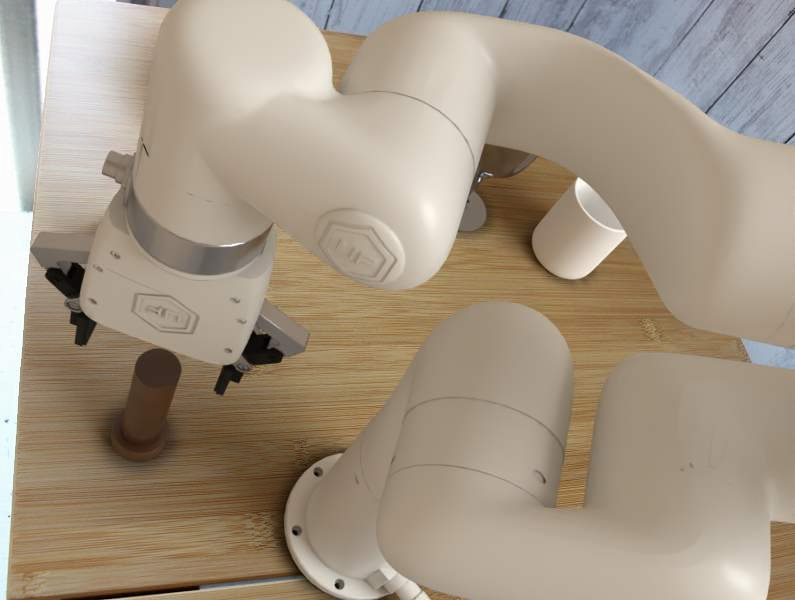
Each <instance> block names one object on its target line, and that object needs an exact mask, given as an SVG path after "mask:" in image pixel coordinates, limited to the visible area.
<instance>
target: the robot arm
mask: <svg viewBox="0 0 795 600" xmlns="http://www.w3.org/2000/svg"><path fill="white" fill-rule="evenodd" d="M159 27H160V28H159V31H158V35H157V38H156V42H155V46H154V47H155V48H154V53H153V57H152V62H151V68H150V73H149V79H148V84H147V91H146V96H145V102H144V107H143V112H142V117H141V123H140V130H139V137H138V140H137V146H136V151H134V153H133V155H131V154H129V153H125V154H122V153H120V152H117V151H115V150H110V151H109V152H108V154H107V156H106V157H105V160H104V163H103V166H102V169H101V174H102V175H103V176H104V177H105V176H106V177H108V178H110V179H113V180H114V182H115V183H116V184H119V185H120V188H119V189H118V191H117V192H116V193H115V195H114V196H113V197H112V199H111V200H110V201H109V203H108V205H107V207H106V209H105V211H104V213H103V215H102V217H101V219H100V221H99V224H98V227H97V229H96V233H95V235H89V234H79V233H65V232H53V231H52V232H51V231H40V232H39V233H38V235H37V236H36V238H35V240H34V242H33V243H32V245H31V246H30V249H29V250H30V253H31V254H32V255H33V257H34V258H35V260H36V261H37V263H38V264H39V266H40V267H41V268H44V270H45V271H46V272H45V273H44V278H45V279H46V280H47V282H49V284H51V285H52V286H53V287H54V288H55V289H56V290H57V291H59V292H60V293H61V294H62V295H63V296H64V297H65V298H66V299H65V301H64V303H63V304H64V307H65V308H66V309H68V310H69V311H70V315H69V325H72V326H75V328H76V329H75V334H74V343H73V344H74V345H76V346H79V347H80V348H81V347H83V346H84V347H86V346H87V345H88V343H89V341H90V339H91V337H92V334H93V333H94V331H95V328H96V326H97V324H99V325H101V326H103V327H106V328H108V329H111V330H114V331H116V332H118V333H122V334H124V335H127V336H130V337H133V338H135V339H137V340H141V341H143V342H146V343H149V344H152V345H154V346H157V347H160V348H162V349H165V350H168V351H170V352H174V353H177V354H180V355H183V356H186V357H188V358H192V359H194V360H197V361H201V362H203V363H208V364H211V365H215V366H217V365H218V366H221V369H220V371H219V375H218V377H217V379H216V382H215V385H214V388H213V392H215V394H216V395H218V396H221V397H223V396H224V394H225V393H226V390H227V388H228V386H229V384H230V382H233V383H235V384H238V385H239V384H240V382H241V381H242V378H243V377H244V374H248V373H251V372H252V371H253V368H254V366H265V365H276V364H281V363H282V361H283V359H284V358H288V359H289V358H291V357H294V356H296V355H299V354H302V353H304V352H306V350H307V346H308V342H309V339H310V335H311V333H310V331H309V330H307V329H306V328H305V327H303V326H302V325H301V324H299V323H298V322H297V321H295V319H293V318H292V317H290V316H289V315H288V314H286V313H285V312H283V311H282V310H281V309H279V308H278V307H277V306H275V305H274V304H273V303H271V301H269V300H268V299H266V296H267V294H268V290H269V286H270V282H271V279H272V276H273V275H272V273H273V269H274V266H275V261H276V260H275V259H276V251H277V250H276V249H277V230H276V227H275V225H276V226H277V227H278V228H279V229H280V230H282V231H283V232H284V233H285V234H286V235H288V236H289V237H290V238H291V239H293V240H294V241H295V242H296V243H298V244H299V245H300V246H301V247H303V248H304V249H305V250H306V251H307V252H309V253H310V254H311V255H313V256H314V257H316V259H318V260H319V261H320V262H322V263H323V264H325V265H326V266H328V267H329V268H331V269H332V270H334V272H335V271H336V272H337V273H338V274H340V275H341V276H344V277H346V278H348V279H350V280H352V281H354V282H356V283H358V284H359V285H360V284H361V285H362V286H365V287H369V288H371V289H376V290H382V291H390V292H391V291H393V292H394V291H395V292H399V291H406V290H411V289H414V288H416V287H419V286H421V285H423V284H425V283H426V282H427V281H429V280H430V279H432V278H433V277H434V276H435V275H436V274H437V273H438V272H439V271H440V269H441V268H442V266H443V265H444V263H445V262H446V261H447V259H448V256H449V255H450V252H451V250H452V248H453V246H454V244H455V241H456V238H457V235H458V228H459V225H460V222H461V218H462V215H463V212H464V208H465V205H466V202H467V198H468V195H469V192H470V188H471V185H472V182H473V179H474V176H475V173H476V170H477V167H478V163H479V160H480V157H481V154H482V151H483V147H484V144H490V145H496V146H501V147H505V148H510V149H515V150H520V151H523V152H527V153H530V154H534V155H537V156H538V157H539V158H542V159H545V160H547V161H549V162H552V163H554V164H556V165H558V166H559V167H561V168H564V169H565V170H567V171H569V172H571V173H572V174H574V175H575V176H576V177H579V178H580V179H582V180H583V181H584V182H586V183H587V184H588V185H589V186H590V187H591V188H592V189H593V190H594V191H595V192H596V193H597V194H599V195H600V197H601V198H602V199H603V200H604V201H605V203H606V204H607V205H608V206H609V207H610V209H611V210H612V211H613V213H614V214H615V216H616V217H617V219H618V220H619V222H620V223H621V225H622V227H623V229H624V231H625V233H626V234H627V238H628V240H629V241H630V244H631V245H632V247H633V249H634V250H635V252H636V254H637V256H638V258H639V260H640V263H641V264H642V266H643V268H644V269H645V271H646V274H647V275H648V277H649V279H650V281H651V283H652V285H653V287H654V288H655V291H656V293H657V294H658V296H659V298H660V300H661V302H662V303H663V305H664V306H665V308H666V309H667V310H668V311H669V313H670V314H671V315H672V316H673V318H675V319H677V320H678V321H680V322H681V323H682V324H684V325H685V326H687V327H690V328H693V329H696V330H699V331H705V332H709V333H714V334H718V335H719V334H720V335H724V336H729V337H733V338H738V339H742V340H747V341H752V342H756V343H760V344H761V343H762V344H766V345H770V346H774V347H778V348H779V347H780V348H784V349H788V350H792V351H795V145H793V144H788V143H782V142H777V141H772V140H766V139H761V138H758V137H753V136H749V135H744V134H741V133H738V132H736V131H734V130H731V129H730V128H728V127H726V126H724V125H722V124H720V123H719V122H717V121H716V120H714V119H713V118H711V116H709V115H708V114H706V113H705V112H704V111H703V110H701V109H700V108H699V107H698V106H697V105H695V104H694V103H693V102H691V101H690V100H688V99H687V98H686V97H685V96H683V95H681V94H680V93H679V92H677V91H676V90H674V89H673V88H671V87H669V86H668V85H666V84H665V83H664V82H662V81H661V80H659V79H657V78H655V77H654V76H652V75H651V74H649V73H648V72H646V71H644V70H643V69H641V68H640V67H638V66H636V65H635V64H633V63H632V62H630V61H628V60H627V59H625V58H624V57H622V56H621V55H619V54H618V53H615V52H613V51H612V50H610V49H608V48H606V47H604V46H602V45H601V44H598V43H596V42H594V41H592V40H590V39H586V38H584V37H582V36H579V35H576V34H573V33H571V32H568V31H565V30H561V29H557V28H554V27H549V26H545V25H540V24H535V23H529V22H523V21H517V20H513V19H508V18H507V19H506V18H503V17H496V16H490V15H484V14H477V13H472V12H471V13H470V12H462V11H455V10H426V11H425V10H423V11H416V12H411V13H407V14H401V15H399V16H395V17H394V18H392V19H390V20H387V21H385V22H384V23H381V24H380V25H379V26H378V27H377V28H375V29H374V30H373V31H372V32H370V34H369V35H367V37H366V38H365V39H364V40H363V41H362V42H361V44H360V45H359V47H358V49H357V50H356V52H355V54H354V56H353V57H352V59H351V60H350V63H349V65H348V67H347V68H346V71H345V72H344V74H343V76H342V78H341V81H340V82H339V84H338V87H337V89H335V86H334V85H333V75H334V74H333V59H332V55H331V51H330V48H329V45H328V43H327V41H326V38H325V37H324V35H323V33H322V32H321V30H320V29H319V27H318V26H317V25H316V24H315V21H313V19H311V18H310V17H309V16H308V15H307V14H306V13H305V12H304V11H303V10H302V9H300V8H299V7H298V6H296V5H295V4H293V3H292V2H290V1H289V0H177V1H176V2H175V3H174V4H173V5H172V6H171V8H170V9H168V12H167V13H166V15H165V16H164V18H163V20H162V22H161V24H160V26H159ZM81 264H86V266H84V267H83V266H82V265H81ZM263 332H264V333H263ZM574 371H575V370H574V362H573V358H572V355H571V350H570V347H569V346H568V343H567V341H566V339H565V337H564V335H563V334H562V333H561V331H560V330H559V328H558V327H557V326H556V325H555V324H554V323H553V322H552V321H551V319H549V318H548V317H546V316H545V315H544V314H542V313H541V312H539V311H537V310H535V309H534V308H532V307H529V306H527V305H524V304H522V303H518V302H513V301H508V300H507V301H506V300H486V301H480V302H477V303H472V304H468V305H467V306H464V307H461V308H459V309H457V310H455V311H454V312H452V313H450V314H449V315H448V316H446V317H445V318H444V319H442V320H441V321H440V322H439V323H438V324H437V325H436V326H435V327H434V328H433V329H432V330H431V331H430V332H429V334H428V335H427V336H426V338H425V339H424V340H423V342H422V343H421V345H420V346H419V348H418V349H417V351H416V353H415V354H414V356H413V357H412V359H411V361H410V363H409V364H408V366H407V368H406V370H405V372H404V373H403V375H402V377H401V378H400V380H399V382H398V384H397V385H396V387H395V388H394V390H393V392H392V393H391V395H390V396H389V398H388V399H387V401H386V402H385V403H384V405H383V406H382V407H381V408H380V409H379V410H378V412H377V413H376V414H375V415H374V417H372V419H371V420H370V421H369V422H368V423H367V424H366V426H365V427H364V428H363V429H362V430H361V431H360V433H359V434H358V435H357V436H356V437H355V439H354V440H353V441H352V442H351V444H350V445H349V446H348V447H347V448H346V450H345V451H344V452H340V453H335V454H331V455H329V456H326V457H324V458H322V459H321V460H318V461H316V462H315V463H313V464H312V465H311V466H309V467H308V469H307V468H306V470H305V471H304V472H303V473H302V474H301V476H300V477H299V478H298V479H297V481H296V483H295V484H294V486H292V487H293V488H292V489H291V490H290V492H289V495H288V497H287V498H288V499H287V501H286V503H285V504H286V505H285V510H284V515H283V527H284V530H283V531H284V536H285V541H286V544H287V548H288V551H289V554H290V555H291V558H292V560H293V561H294V563H295V565H296V566H297V568H298V570H299V571H300V573H302V575H303V576H304V577H305V578H306V579H307V580H308V581H309V582H310V583H311V584H312V585H314V586H315V587H317V588H318V589H319V590H321V591H322V592H323V593H326V594H328V595H331V596H332V597H335V598H337V599H341V600H378V599H381V598H383V597H386V596H388V595H393V594H394V593H395V594H396V595H397V597H398V598H399V599H400V600H432V599H431V598H430V597H429V596H428V594H427V593H426V591H424V590H423V589H421V588H420V586H422V587H424V588H426V589H429V590H432V591H435V592H437V593H438V592H439V593H441V594H445V595H448V596H453V597H456V598H461V599H464V600H767V598H768V593H769V588H770V582H771V566H772V562H771V561H772V559H771V558H772V554H771V553H772V551H771V549H772V548H771V547H772V546H771V545H772V544H771V522H778V523H779V522H780V523H787V524H792V525H793V524H794V525H795V369H794V368H789V367H788V368H787V367H781V366H775V365H766V364H761V363H753V362H747V361H746V362H745V361H740V360H733V359H725V358H718V357H710V356H704V355H695V354H687V353H678V352H667V351H656V352H651V351H650V352H649V351H647V352H641V353H637V354H632V355H629V356H627V357H626V358H624V359H622V360H619V361H618V362H617V363H616V364H615V365H614V367H613V368H612V369H611V370H610V371H609V372H608V374H607V376H606V377H605V381H604V382H603V385H602V387H601V390H600V395H599V398H598V402H597V405H596V411H595V417H594V423H593V429H592V435H591V441H590V450H589V459H588V463H587V473H586V479H585V480H586V481H585V486H584V487H585V488H584V493H583V494H584V495H583V503H582V507H580V508H557V504H558V503H557V502H558V495H559V489H560V483H561V476H562V470H563V466H564V464H565V460H566V453H567V445H568V444H567V443H568V438H569V432H570V425H571V419H572V413H573V412H572V411H573V406H574V405H573V404H574V391H575V372H574ZM315 474H317V475H315ZM293 532H295V533H296V535H295V534H294V533H293ZM335 585H337V586H338V588H337V587H336V586H335Z"/></svg>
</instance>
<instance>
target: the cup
mask: <svg viewBox="0 0 795 600" xmlns="http://www.w3.org/2000/svg"><path fill="white" fill-rule="evenodd" d="M532 232H533V233H532V237H531V247H532V251H533V253H534V256H535V258H536V259H537V261H538V262H539V263H540V265H541V266H542V267H543V268H544V269H545V270H547V272H549V273H551V274H553V275H554V276H556V277H558V278H561V279H563V280H579V279H582V278H584V277H586V276H587V275H589V274H590V273H592V271H594V270H595V269H596V268H597V267H598V266H599V265H600V264H601V263H602V262H603V261H604V260H605V259H606V258H607V257H608V256H609V255H610V254H611V253H612V252H613V251H614V250H615V249H616V248H617V247H618V246H619V245H620V244H621V243H622V242H623V241H624V240H625V239H626V238H628V236H627V234H626V233H625V231H624V229H623V227H622V225H621V223H620V222H619V220H618V219H617V217H616V216H615V214H614V213H613V211H612V210H611V209H610V207H609V206H608V205H607V204H606V203H605V201H604V200H603V199H602V198H601V197H600V195H599V194H597V193H596V192H595V191H594V190H593V189H592V188H591V187H590V186H589V185H588V184H587V183H586V182H584V181H583V180H582V179H580V178H579V177H578V176H576V178H575V179H574V181H573V182H572V183H571V184H570V186H569V187H568V188H567V189H566V190H565V191H564V193H563V194H562V195H561V196H560V197H559V199H558V200H557V201H556V202H555V203H554V205H553V206H552V207H551V208H550V210H549V211H548V212H547V213H546V214H545V215H544V216H543V218H542V219H541V220H540V221H539V223H538V224H537V225H536V227H535V228H534V230H533V231H532Z"/></svg>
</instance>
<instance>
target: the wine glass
mask: <svg viewBox="0 0 795 600" xmlns="http://www.w3.org/2000/svg"><path fill="white" fill-rule="evenodd" d="M538 158H539V156H537V155H534V154H530V153H527V152H523V151H520V150H515V149H510V148H505V147H501V146H496V145H490V144H484V147H483V151H482V154H481V157H480V160H479V163H478V167H477V170H476V173H475V176H474V179H473V182H472V185H471V188H470V192H469V195H468V198H467V202H466V205H465V208H464V212H463V215H462V218H461V222H460V225H459V228H458V231H459V232H462V233H463V232H464V233H470V232H474V231H477V230H479V229H481V228H482V227H483V226H484V224H485V222H486V220H487V209H486V205H485V203H484V201H483V200H482V198H481V197H480V195H479V194H478V193H477V192H476V191H475V190H476V188H477V187H478V186H479V185H480V184H481V183H482V182H483V181H485V180H488V179H508V178H511V177H514V176H516V175H518V174H521V172H523V171H524V170H526V169H527V168H528V167H530V166H531V165H532V164H533V163H534V162H535V161H536V160H537V159H538Z"/></svg>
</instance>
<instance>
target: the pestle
mask: <svg viewBox="0 0 795 600" xmlns="http://www.w3.org/2000/svg"><path fill="white" fill-rule="evenodd" d="M182 371H183V370H182V364H181V361H180V360H179V358H178V356H177V355H176V354H175V353H173V351H171V350H168V349H166V348H161V347H160V348H150V349H147V350H146V351H144V352H142V353H141V354H140V355H139V356H138V358H136V361H135V363H134V368H133V373H132V377H131V381H130V385H129V390H128V394H127V399H126V402H125V406H124V407H123V409H121V410H120V411H119V412H118V414H117V415H116V416H115V418H114V421H113V424H112V428H111V433H110V438H111V439H110V440H111V445H112V448H113V450H114V452H116V454H117V455H118V456H119V457H120V458H122V459H123V460H126V461H129V462H132V463H144V462H149V461H151V460H153V459H155V458H156V457H157V456H159V455H160V454H161V452H162V451H163V449H164V448H165V445H166V443H167V440H168V437H169V433H170V423H169V420H168V414H169V411H170V408H171V405H172V402H173V399H174V396H175V393H176V390H177V387H178V385H179V381H180V378H181V376H182Z"/></svg>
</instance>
